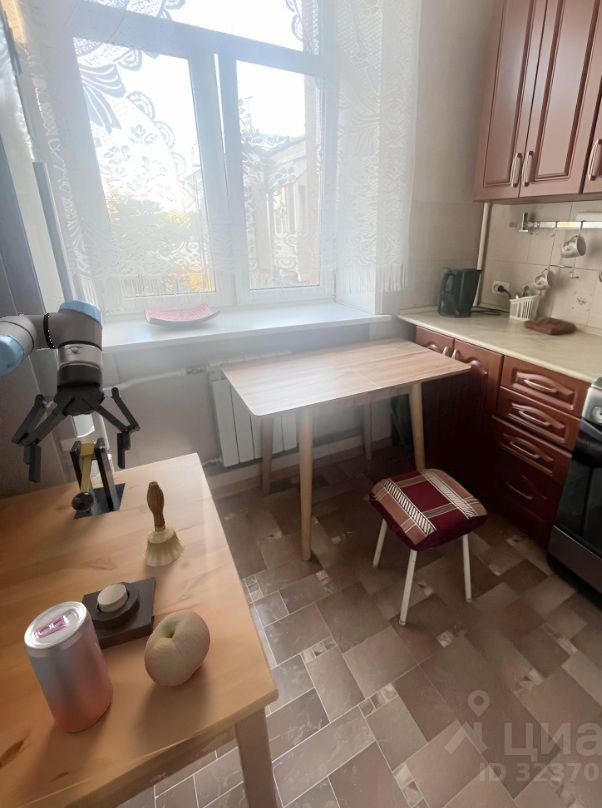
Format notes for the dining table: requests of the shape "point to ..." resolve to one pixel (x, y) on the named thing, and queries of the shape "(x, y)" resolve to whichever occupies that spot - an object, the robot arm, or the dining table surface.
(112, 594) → the button
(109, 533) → the dining table surface
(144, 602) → the button block
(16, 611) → the dining table surface
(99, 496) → the switch bracket
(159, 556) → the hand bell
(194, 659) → the fruit
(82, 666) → the beverage can
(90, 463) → the lever
